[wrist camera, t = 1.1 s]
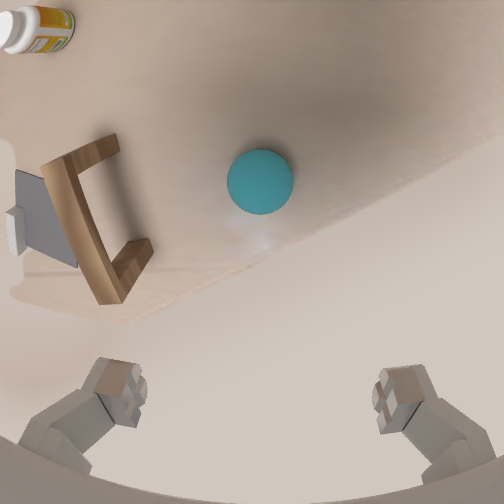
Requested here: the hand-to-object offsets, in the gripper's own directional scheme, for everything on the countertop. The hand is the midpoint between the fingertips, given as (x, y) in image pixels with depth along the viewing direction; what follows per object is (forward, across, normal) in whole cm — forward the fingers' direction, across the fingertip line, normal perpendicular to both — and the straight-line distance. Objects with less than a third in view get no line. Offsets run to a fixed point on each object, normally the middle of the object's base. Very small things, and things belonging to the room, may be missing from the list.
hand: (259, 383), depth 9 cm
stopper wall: (+26, +36, +5) cm, 45 cm away
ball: (+21, 0, -1) cm, 21 cm away
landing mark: (+26, +30, +4) cm, 40 cm away
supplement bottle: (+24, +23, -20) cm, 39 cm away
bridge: (+25, +16, +1) cm, 30 cm away
